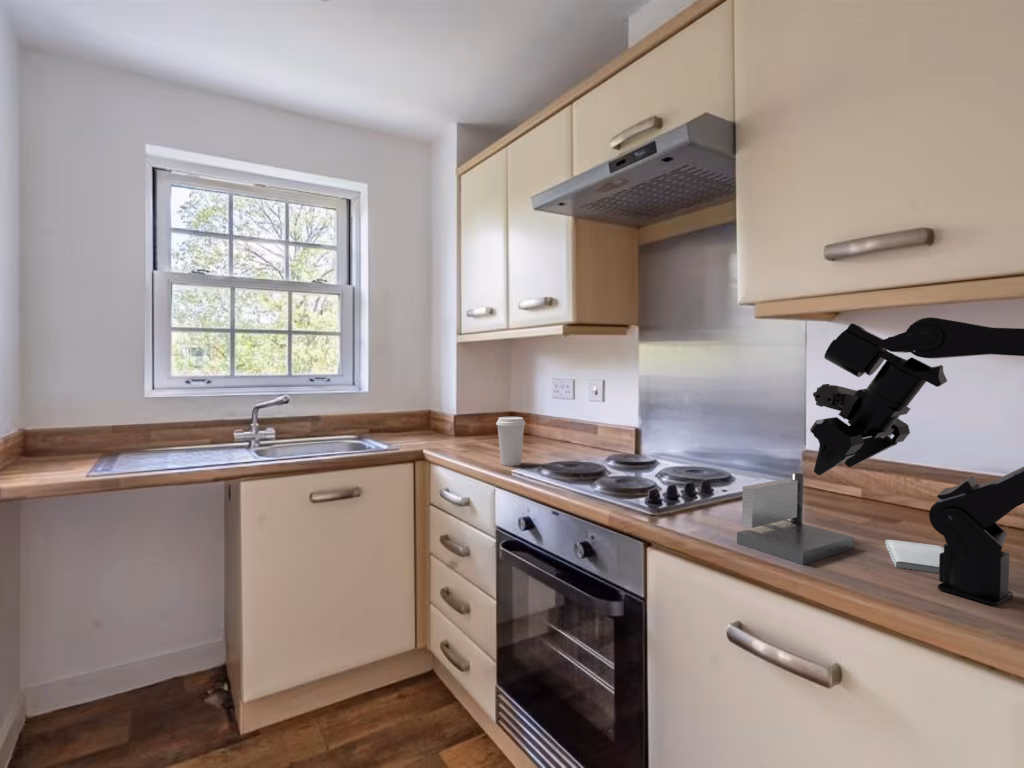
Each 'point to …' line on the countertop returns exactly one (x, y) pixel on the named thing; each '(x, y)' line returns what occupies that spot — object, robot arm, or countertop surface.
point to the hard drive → (915, 555)
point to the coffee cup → (510, 440)
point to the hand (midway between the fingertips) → (832, 469)
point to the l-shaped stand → (795, 536)
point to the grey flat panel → (769, 502)
